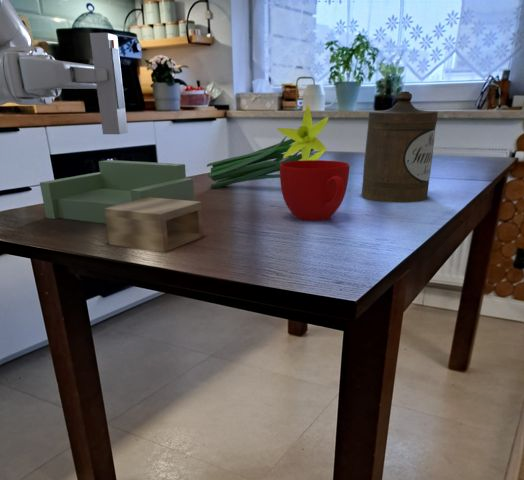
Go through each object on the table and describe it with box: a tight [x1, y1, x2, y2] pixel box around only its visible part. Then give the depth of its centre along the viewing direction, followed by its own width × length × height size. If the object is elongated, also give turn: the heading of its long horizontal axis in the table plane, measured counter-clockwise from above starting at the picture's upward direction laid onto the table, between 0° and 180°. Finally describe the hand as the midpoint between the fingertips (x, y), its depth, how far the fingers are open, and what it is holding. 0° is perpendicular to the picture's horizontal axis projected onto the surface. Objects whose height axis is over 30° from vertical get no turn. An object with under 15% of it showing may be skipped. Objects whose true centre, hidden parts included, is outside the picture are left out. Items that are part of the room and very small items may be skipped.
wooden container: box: [361, 91, 438, 203], centre depth 115 cm, size 15×15×22 cm
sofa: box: [39, 159, 196, 224], centre depth 102 cm, size 25×17×10 cm
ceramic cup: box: [279, 159, 350, 222], centre depth 97 cm, size 13×17×10 cm
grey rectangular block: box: [89, 32, 129, 135], centre depth 88 cm, size 3×4×15 cm
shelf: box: [104, 197, 204, 253], centre depth 84 cm, size 11×11×6 cm
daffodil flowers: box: [206, 105, 330, 190], centre depth 127 cm, size 17×15×35 cm
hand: (113, 75), depth 87 cm, fingers closed on grey rectangular block, 4 cm apart
